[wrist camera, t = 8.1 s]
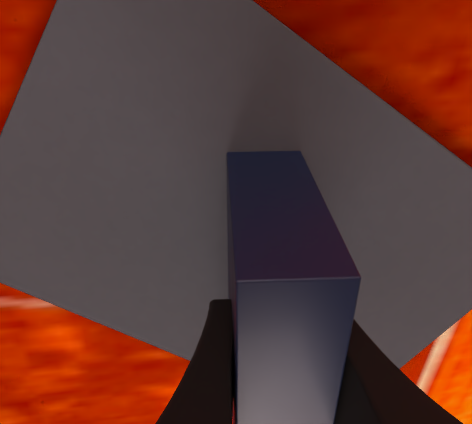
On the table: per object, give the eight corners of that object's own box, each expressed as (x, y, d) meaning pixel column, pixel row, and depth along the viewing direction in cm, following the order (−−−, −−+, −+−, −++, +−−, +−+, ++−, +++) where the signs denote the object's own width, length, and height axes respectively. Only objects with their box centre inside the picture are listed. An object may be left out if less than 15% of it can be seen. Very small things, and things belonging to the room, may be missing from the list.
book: (228, 321, 18) (235, 492, 12) (226, 151, 14) (235, 281, 8) (287, 319, 19) (322, 488, 13) (301, 149, 15) (362, 277, 9)
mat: (551, 228, 17) (561, 236, 17) (333, 411, 23) (336, 421, 22) (108, -110, 11) (103, -113, 11) (-45, 252, 17) (-54, 261, 16)
